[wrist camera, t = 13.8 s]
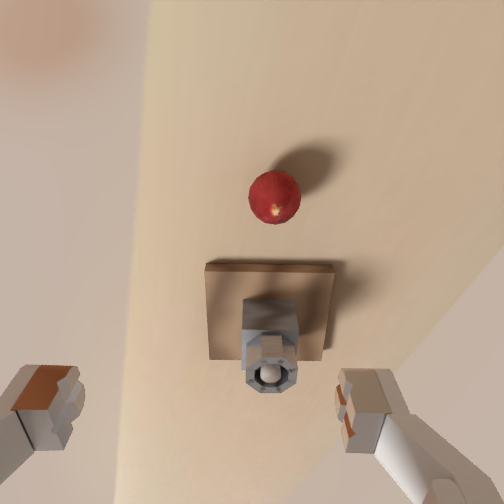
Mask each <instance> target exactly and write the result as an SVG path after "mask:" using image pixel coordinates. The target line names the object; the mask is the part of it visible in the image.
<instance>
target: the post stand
mask: <svg viewBox="0 0 504 504" xmlns="http://www.w3.org/2000/svg"><path fill="white" fill-rule="evenodd" d="M334 276H335V272H334V269H333V266H332V265H295V264H222V263H206V267H205V287H206V305H207V323H208V341H209V358H210V360H242V370H246V343H248V342H249V341H250V340H252V339H253V338H255V337H256V336H257V335H259V334H260V333H281V334H283V335H284V336H285V337H286V338H288V339H289V340H290V341H291V342H292V343H294V346H295V353H296V360H297V361H321V359H322V353H323V346H324V340H325V333H326V327H327V321H328V314H329V308H330V301H331V295H332V289H333V282H334ZM260 372H261V379H262V380H263V381H265V382H267V383H274V382H277V381H278V380H279V379H280V378H281V370H280V364H264V365H262V366H261V367H260Z"/></svg>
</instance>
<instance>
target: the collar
mask: <svg viewBox="0 0 504 504" xmlns="http://www.w3.org/2000/svg"><path fill="white" fill-rule="evenodd" d="M264 364H280V370H281V378H280V379H279V380H278V381H277V382H274V383H267V382H265V381H263V380H262V379H261V372H260V367H261V366H262V365H264ZM297 370H298V367H297V360H296V353H295V346H294V343H292V342H291V341H290V340H289V339H288V338H286V337H285V336H284V335H283V334H281V333H260V334H259V335H257V336H256V337H255V338H253V339H252V340H250V341H249V342H248V343H246V383H247V384H248V385H250V386H251V387H252V388H254V389H255V390H257V391H258V392H260V393H281V392H283V391H285V390H286V389H288V388H289V387H291V386H293V385H294V384H296V379H297Z"/></svg>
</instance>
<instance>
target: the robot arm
mask: <svg viewBox="0 0 504 504" xmlns="http://www.w3.org/2000/svg"><path fill="white" fill-rule="evenodd" d="M79 376H80V372H79V370H78V367H76V366H61V365H25V366H23V367H22V368H20V370H19V371H18V373H17V374H16V375H15V377H14V378H13V380H12V381H11V382H10V384H9V385H8V387H7V388H6V390H5V391H4V392H3V394H2V395H1V397H0V484H2V483H3V482H4V481H5V480H6V479H7V478H8V477H9V476H10V475H11V474H12V473H13V472H14V471H15V470H16V469H17V468H18V467H19V466H20V465H22V464H23V463H24V462H25V461H26V460H27V459H28V458H29V457H30V456H31V455H32V454H33V453H34V451H49V450H64V448H65V446H66V444H67V442H68V440H69V437H70V435H71V433H72V431H73V427H72V424H71V422H72V421H73V420H75V419H76V418H77V417H78V416H79V415H80V413H81V411H82V408H83V405H84V401H85V389H84V385H83V384H82V383H81V382H80V381H79V380H78V377H79ZM338 379H339V383H340V384H339V385H338V386H337V387H336V391H335V407H336V413H337V418H338V419H339V420H340V421H341V422H342V428H341V435H342V439H343V444H344V448H345V452H346V453H370V454H374V456H375V457H376V458H377V459H378V461H379V462H380V463H381V464H382V465H383V466H384V468H385V469H386V470H387V472H388V473H389V474H390V475H391V476H392V478H393V479H394V480H395V481H396V482H397V484H398V485H399V486H400V487H401V489H402V490H403V491H404V492H405V493H406V495H407V496H408V497H409V498H410V500H411V501H412V502H413V503H414V504H504V502H503V500H502V498H501V496H500V495H499V493H498V491H497V489H496V487H495V485H494V484H493V482H492V480H491V478H490V477H488V476H487V475H486V474H485V473H484V472H482V471H481V470H480V469H479V468H478V467H477V466H476V465H474V464H473V463H472V462H471V461H470V460H468V459H467V458H466V457H465V456H464V455H463V454H461V453H460V452H459V451H458V450H457V449H456V448H454V447H453V446H452V445H451V444H450V443H448V442H447V441H446V440H445V439H444V438H442V437H441V436H440V435H439V434H438V433H437V432H435V431H434V430H433V429H432V428H431V427H429V426H428V425H427V424H426V423H425V422H424V421H422V420H421V419H420V418H419V417H418V416H416V415H413V414H410V412H409V410H408V407H407V405H406V403H405V401H404V398H403V396H402V394H401V391H400V389H399V387H398V384H397V382H396V380H395V377H394V375H393V373H392V371H391V370H390V369H340V371H339V375H338Z"/></svg>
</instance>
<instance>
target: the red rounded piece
mask: <svg viewBox="0 0 504 504" xmlns="http://www.w3.org/2000/svg"><path fill="white" fill-rule="evenodd" d="M248 199H249V203H250V207H251V210H252V211H253V213H254V214H255V216H256V217H257V218H259V219H260V220H262V221H263V222H265V223H269V224H275V225H276V224H280V223H285V222H287V221H288V220H289V219H291V218H292V217H293V216H294V215H295V213H296V212H297V210H298V209H299V206H300V201H301V194H300V190H299V186H298V184H297V183H296V181H295V180H294V178H293V177H292V176H290V175H288V174H287V173H285V172H282V171H275V170H274V171H270V172H266V173H264V174H262V175H261V176H259V177H257V178H256V180H255V181H254V183H253V184H252V186H251V187H250V190H249V197H248Z"/></svg>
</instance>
